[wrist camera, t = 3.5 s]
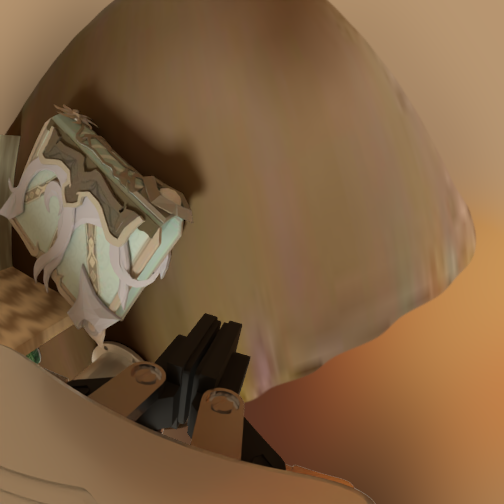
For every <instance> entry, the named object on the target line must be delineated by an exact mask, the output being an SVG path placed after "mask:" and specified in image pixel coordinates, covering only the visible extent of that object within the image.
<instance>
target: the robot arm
mask: <svg viewBox="0 0 504 504" xmlns="http://www.w3.org/2000/svg"><path fill="white" fill-rule="evenodd" d="M220 325H221V321H218V320H217V317H216V316H213V315H209V314H206V313H205V314H204V315H203V316H202V318H201V319H200V320H199V321H198V323H197V324H196V325H195V327H194V328H193V329H192V330H191V332H190V333H189V334H188V336H187V337H186V336H183V335H178V336H177V337H176V338H175V339H174V340H173V342H172V343H171V344H170V345H169V346H168V348H167V349H166V350H165V351H164V352H163V353H162V355H161V356H160V357H159V358H158V359H157V361H156V362H155V363H152V362H147V361H144V360H143V359H142V358H141V357H140V356H139V355H138V354H137V353H135V352H134V351H133V350H131V349H130V348H128V347H127V346H125V345H122V344H120V343H117V342H113V341H106V342H103V345H102V349H101V348H100V347H99V345H98V346H97V347H96V348H95V349H94V351H93V354H92V364H90V365H89V366H88V367H87V368H86V369H85V370H84V371H82V372H81V373H80V374H79V375H78V376H77V377H76V378H74V379H73V380H72V381H68V378H66V377H64V376H61V375H59V374H57V373H54V372H52V371H49V370H47V369H45V368H43V367H41V366H39V365H38V364H36V363H35V362H33V361H32V360H30V359H29V358H28V357H26V356H24V355H23V354H21V353H19V352H18V351H16V350H14V349H12V348H10V347H7V346H4V345H1V344H0V504H375V503H374V501H373V500H372V499H371V498H370V497H369V496H367V495H366V494H364V493H362V492H361V491H359V490H357V489H355V488H354V486H353V485H352V484H351V483H350V482H348V481H346V480H344V479H340V478H337V477H333V476H329V475H325V474H322V473H319V472H315V471H313V470H309V469H306V468H303V467H300V466H297V465H294V466H293V467H292V466H289V465H286V464H285V463H284V461H283V460H282V458H281V457H280V456H279V455H278V454H277V453H276V452H275V451H274V450H273V449H272V448H271V447H270V445H269V444H268V443H267V442H266V441H265V440H264V439H263V438H262V437H261V436H260V434H259V433H258V432H257V431H256V430H255V429H254V428H253V427H252V425H251V424H250V423H249V422H248V421H247V420H246V418H245V417H244V401H243V400H242V398H241V397H240V396H239V394H240V391H241V388H242V385H243V381H244V378H245V375H246V371H247V368H248V364H249V361H250V356H247V355H243V354H240V353H236V349H237V345H238V340H239V336H240V332H241V328H242V324H240V323H236V322H233V321H229V323H225V322H224V324H223V325H222V327H221V329H220ZM188 416H189V417H188ZM187 418H188V432H187V433H188V435H189V436H190V438H191V444H190V445H189V444H186V443H183V442H181V441H178V440H176V439H173V438H170V437H168V436H166V435H163V434H162V433H163V431H164V428H169V427H172V428H174V429H177V427H178V425H179V424H180V423H182V424H185V422H186V420H187Z"/></svg>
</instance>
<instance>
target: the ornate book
mask: <svg viewBox="0 0 504 504" xmlns="http://www.w3.org/2000/svg"><path fill="white" fill-rule="evenodd" d="M54 106H55V107H56V108H58V109H59V110H61V111H63V112H65V113H60V112H58V113H60V114H57V115H55V116H54V117H52V118H50V119H49V120H48V121H47V122H45V124H44V126H43V128H42V130H41V132H40V134H39V136H38V138H37V140H36V142H35V145H34V147H33V149H32V152H31V154H30V156H29V159H28V161H27V164H26V166H25V169H24V171H23V174H22V177H21V179H20V182H19V185H18V186H17V187H15V188H13V187H12V184H11V180H10V178H9V182H8V184H9V189H10V190H11V192H12V194H11V195H10V197H9V198H8V200H7V201H6V203H5V204H4V205H3V207H2V208H1V209H0V215H3V216H5V217H6V218H8V220H9V221H10V223H11V224H12V226H13V227H14V229H15V230H16V231H17V233H18V234H19V236H20V237H21V239H22V240H23V242H24V244H25V246H26V247H27V249H28V251H29V252H30V254H31V256H34V257H36V258H37V260H36V262H35V265H34V279H35V284H36V283H37V276H38V275H39V273H40V272H41V270H42V269H43V270H44V278H43V281H44V285H45V288H46V291H47V293H48V281H49V277H51V278H52V279H53V281H54V282H55V283H56V286H57V289H58V291H59V293H60V294H61V295H62V296H63V297H64V298H65V299H66V300H67V301H68V303H69V304H70V305H71V306H72V307H71V308H70V309H69V311H68V312H67V314H68V315H69V317H70V318H71V320H72V321H73V323H74V324H75V326H76V327H77V329H80V328H82V327H84V328H85V330H86V331H87V333H88V334H89V335H90V337H92V338H93V339H94V340H95V341H96V343H97V344H98V345H99V347H100V348H101V349H102V345H103V341H104V337H105V330H106V328H108V327H109V326H111V325H112V324H114V323H116V322H117V321H119V320H120V321H123V319H124V318H125V316H126V314H127V313H128V311H129V310H130V308H131V307H132V305H133V304H134V302H135V301H136V299H137V298H138V296H139V295H140V293H141V292H142V291H143V289H144V288H145V287H146V286H147V285H149V284H151V283H152V282H154V280H155V279H156V278H157V276H158V275H159V273H160V276H161V279H162V278H163V277H164V275H165V273H166V271H167V269H168V266H169V262H170V258H171V249H172V248H173V247H174V245H175V244H176V243H177V241H178V240H179V239H180V237H181V236H182V232H183V220H186V221H189V222H191V223H193V218H192V211H191V209H190V207H189V205H188V203H187V201H186V199H185V197H184V195H183V193H181V192H179V191H177V190H175V189H174V188H172V187H170V186H168V185H166V184H165V183H163V182H161V181H160V180H159V179H157V178H156V177H155V176H146V177H143V176H142V175H141V174H140V173H139V172H138V171H137V170H135V169H134V168H133V167H132V166H131V165H129V164H128V163H127V162H126V161H125V160H124V159H123V158H122V157H120V156H119V155H118V154H117V153H116V152H115V151H114V150H113V149H111V146H110V145H109V144H108V143H107V141H106V140H105V139H104V138H103V137H102V136H98V135H97V134H96V133H95V132H94V131H93V130H92V126H91V125H90V124H89V123H91V124H93V125H95V124H94V123H93V122H91V121H90V120H88V119H86V118H89V117H87V116H85V115H80V114H78V113H79V112H78V111H79V110H76V109H73V110H71V109H70V108H69V107H67V106H66V105H63V107H64V108H65V109H64V108H61V107H58V106H56V105H54ZM56 112H57V111H56ZM80 116H81V117H80ZM89 119H91V118H89ZM91 120H93V119H91ZM88 122H89V123H88ZM84 123H85V124H86V125H88V126H89V127H90V128H89V127H88V126H86V125H85V124H84ZM95 126H96V127H98V126H97V125H95Z"/></svg>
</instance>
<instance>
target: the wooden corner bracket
mask: <svg viewBox="0 0 504 504" xmlns="http://www.w3.org/2000/svg"><path fill="white" fill-rule="evenodd" d="M20 137H21V136H13V135H0V209H1V208H2V207H3V205H4V204H5V203H6V201H7V200H8V198H9V197H10V195H11V194H12V192H11V190H10V189H9V184H8V182H9V178H10V180H11V184H12V187H13V185H14V176H15V167H16V160H17V154H18V147H19V142H20ZM71 307H72V306H71V305H70V304H69V303H68V301H67V300H66V299H65V298H64V297H63V296H62V295H61V294H60V293H58V292H56V291H54V290H52V289H50V288H49V287H48V293H47V291H46V288H45V285H43V284H41V283H40V282H38V281H37V283H36V284H35V280H34V279H33V278H31V277H29V276H28V275H26V274H24V273H23V272H21V271H19V270H18V269H16V268H14V267H13V265H12V243H11V223H10V221H9V220H8V218H6V217H5V216H3V215H0V344H1V345H4V346H7V347H10V348H12V349H14V350H16V351H18V352H19V353H21V354H23V355H24V356H26V355H27V354H29V353H30V352H32V351H33V350H35V349H36V348H38V347H39V346H41V345H42V344H44V343H45V342H47V341H48V340H50V339H51V338H53V337H54V336H56V335H58V334H59V333H61V332H62V331H64V330H65V329H67V328H68V327H70V326H71V325H73V324H74V323H73V321H72V320H71V318H70V317H69V315H68V314H67V312H68V311H69V309H70V308H71Z"/></svg>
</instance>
